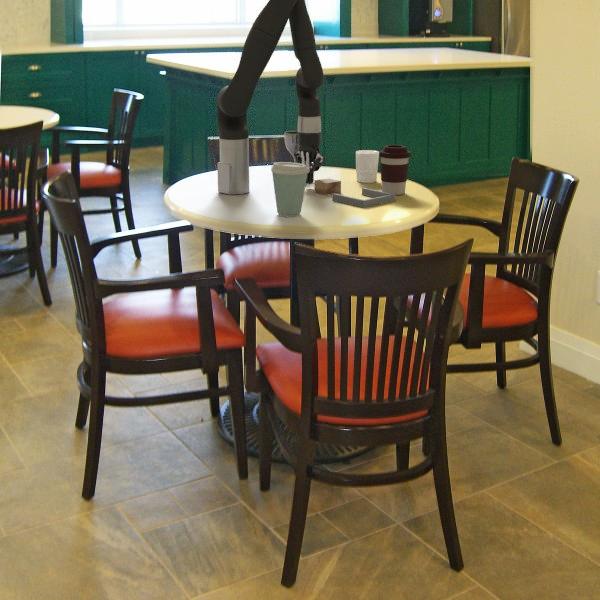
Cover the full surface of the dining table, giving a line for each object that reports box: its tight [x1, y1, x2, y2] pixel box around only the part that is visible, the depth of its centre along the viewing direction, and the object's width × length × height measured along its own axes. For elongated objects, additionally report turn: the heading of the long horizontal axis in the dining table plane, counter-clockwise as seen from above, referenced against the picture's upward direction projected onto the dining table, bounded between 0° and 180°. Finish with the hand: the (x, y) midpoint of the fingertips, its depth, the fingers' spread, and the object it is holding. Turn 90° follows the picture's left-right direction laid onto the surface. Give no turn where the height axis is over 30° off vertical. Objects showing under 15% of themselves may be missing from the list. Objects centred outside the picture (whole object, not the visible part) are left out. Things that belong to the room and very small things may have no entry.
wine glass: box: [284, 130, 300, 163], centre depth 310 cm, size 8×8×15 cm
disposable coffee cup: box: [270, 161, 308, 218], centre depth 252 cm, size 11×11×15 cm
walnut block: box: [314, 177, 342, 196], centre depth 284 cm, size 6×6×4 cm
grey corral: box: [331, 187, 397, 208], centre depth 273 cm, size 14×14×2 cm
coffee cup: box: [378, 144, 412, 196], centre depth 281 cm, size 10×10×15 cm
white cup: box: [355, 149, 380, 184], centre depth 301 cm, size 8×8×10 cm
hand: (309, 183), depth 290 cm, fingers closed
